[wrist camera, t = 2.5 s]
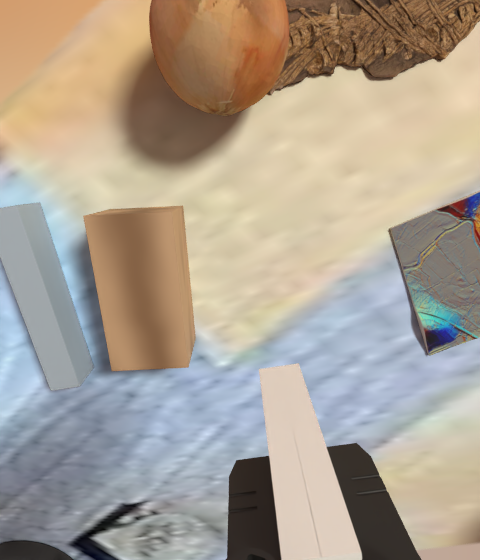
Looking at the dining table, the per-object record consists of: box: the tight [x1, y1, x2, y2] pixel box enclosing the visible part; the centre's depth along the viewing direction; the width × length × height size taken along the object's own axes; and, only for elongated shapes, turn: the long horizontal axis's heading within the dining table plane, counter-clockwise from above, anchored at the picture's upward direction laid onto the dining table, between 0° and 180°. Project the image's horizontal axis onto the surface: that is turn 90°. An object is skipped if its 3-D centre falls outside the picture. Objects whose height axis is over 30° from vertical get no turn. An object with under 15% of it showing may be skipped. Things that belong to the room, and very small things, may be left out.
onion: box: [149, 0, 289, 116], centre depth 23 cm, size 10×10×10 cm
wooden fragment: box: [269, 0, 480, 94], centre depth 27 cm, size 26×11×1 cm, turn 97°
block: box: [83, 206, 196, 371], centre depth 31 cm, size 7×14×6 cm, turn 3°
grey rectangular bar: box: [0, 203, 94, 391], centre depth 32 cm, size 3×18×4 cm, turn 9°
